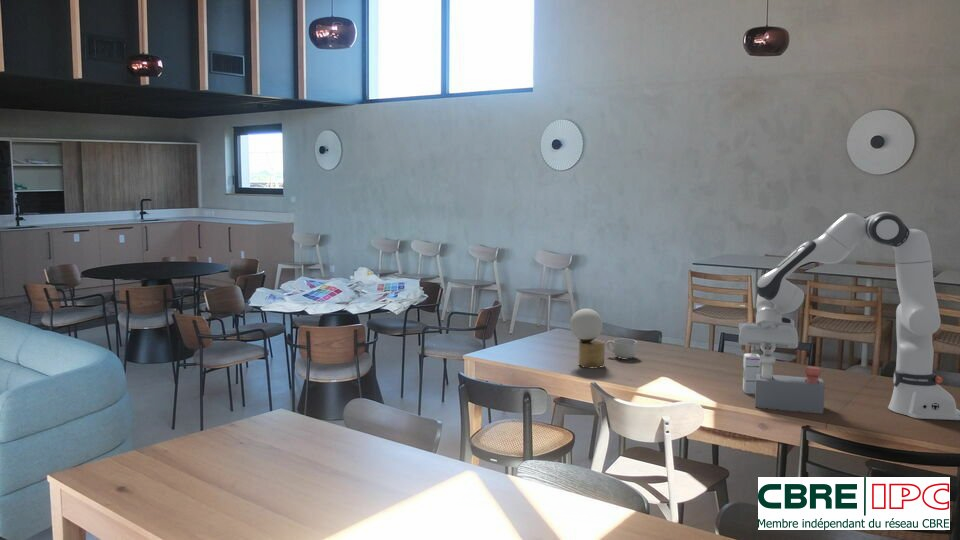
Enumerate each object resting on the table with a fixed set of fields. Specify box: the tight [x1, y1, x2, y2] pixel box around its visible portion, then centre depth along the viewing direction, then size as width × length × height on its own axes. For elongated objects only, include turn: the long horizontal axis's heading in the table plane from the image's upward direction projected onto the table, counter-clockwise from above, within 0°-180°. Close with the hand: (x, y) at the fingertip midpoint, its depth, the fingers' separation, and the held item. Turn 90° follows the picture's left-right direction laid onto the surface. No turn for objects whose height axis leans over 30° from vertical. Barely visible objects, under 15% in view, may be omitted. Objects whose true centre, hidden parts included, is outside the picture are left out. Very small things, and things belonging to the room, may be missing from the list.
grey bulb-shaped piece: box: [759, 354, 776, 379], centre depth 272 cm, size 5×5×14 cm
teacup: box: [605, 337, 638, 359], centre depth 348 cm, size 14×11×8 cm
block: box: [754, 373, 826, 415], centre depth 271 cm, size 22×10×10 cm, turn 70°
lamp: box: [569, 308, 606, 368], centre depth 332 cm, size 15×14×25 cm
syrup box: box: [742, 352, 762, 395], centre depth 289 cm, size 6×6×14 cm
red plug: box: [804, 366, 822, 383], centre depth 268 cm, size 5×5×14 cm
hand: (767, 355), depth 271 cm, fingers closed, pressing on grey bulb-shaped piece
